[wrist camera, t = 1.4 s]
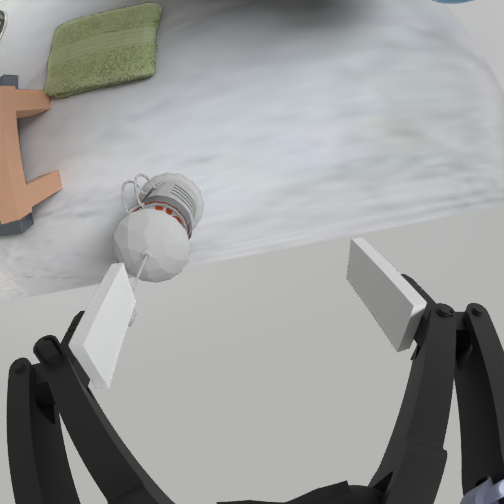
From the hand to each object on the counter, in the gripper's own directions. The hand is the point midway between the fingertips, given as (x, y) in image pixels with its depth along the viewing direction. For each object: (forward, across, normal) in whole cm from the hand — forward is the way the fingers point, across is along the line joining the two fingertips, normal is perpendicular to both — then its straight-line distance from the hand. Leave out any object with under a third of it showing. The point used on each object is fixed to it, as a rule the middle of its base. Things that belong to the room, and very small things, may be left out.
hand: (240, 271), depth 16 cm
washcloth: (+26, -16, +22) cm, 38 cm away
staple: (+25, -28, +10) cm, 39 cm away
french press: (+26, -9, -2) cm, 27 cm away
